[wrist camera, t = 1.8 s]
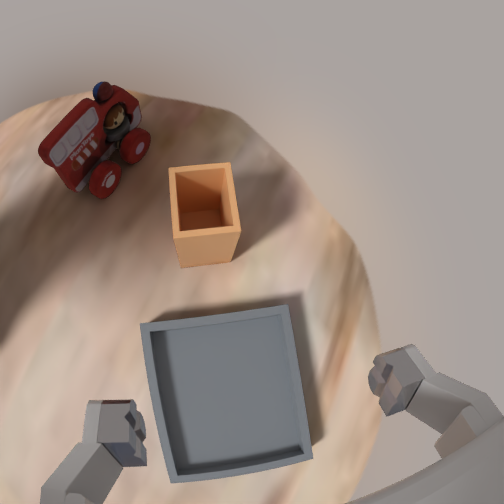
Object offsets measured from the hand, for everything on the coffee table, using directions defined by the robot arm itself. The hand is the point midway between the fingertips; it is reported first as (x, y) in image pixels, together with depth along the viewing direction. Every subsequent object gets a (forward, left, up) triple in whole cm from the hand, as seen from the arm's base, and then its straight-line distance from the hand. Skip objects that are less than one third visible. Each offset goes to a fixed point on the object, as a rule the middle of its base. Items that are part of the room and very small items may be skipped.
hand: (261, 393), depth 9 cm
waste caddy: (+3, +12, -21) cm, 24 cm away
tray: (-1, -3, -21) cm, 21 cm away
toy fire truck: (-4, +25, -21) cm, 33 cm away
